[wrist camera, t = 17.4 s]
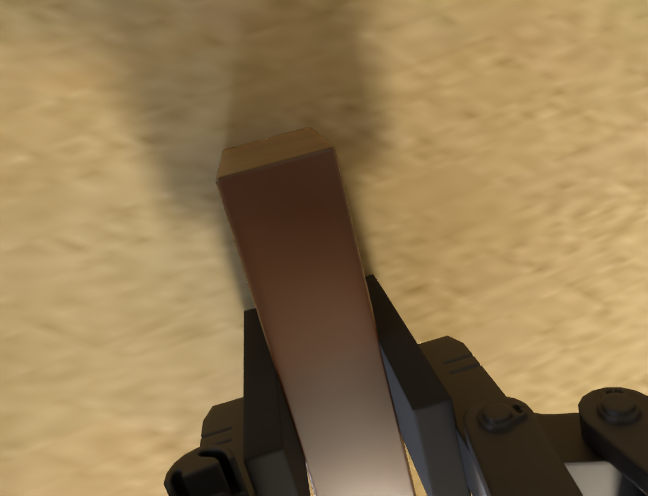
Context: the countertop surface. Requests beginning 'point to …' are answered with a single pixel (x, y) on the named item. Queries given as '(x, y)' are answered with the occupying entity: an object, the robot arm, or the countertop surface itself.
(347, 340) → the stick
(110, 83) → the countertop surface
